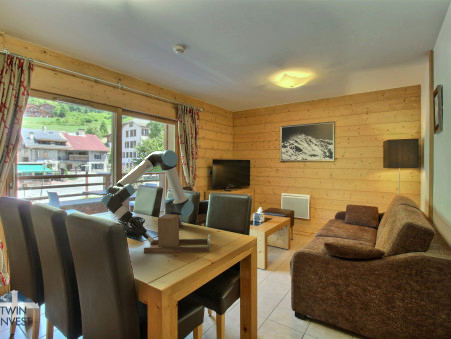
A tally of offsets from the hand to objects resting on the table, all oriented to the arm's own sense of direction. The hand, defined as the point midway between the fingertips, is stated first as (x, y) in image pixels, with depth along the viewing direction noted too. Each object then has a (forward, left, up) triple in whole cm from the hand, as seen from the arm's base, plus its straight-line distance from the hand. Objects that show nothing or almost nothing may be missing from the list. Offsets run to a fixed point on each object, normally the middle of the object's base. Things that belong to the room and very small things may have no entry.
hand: (152, 241), depth 149 cm
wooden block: (0, +10, -5) cm, 11 cm away
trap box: (0, +16, -5) cm, 17 cm away
